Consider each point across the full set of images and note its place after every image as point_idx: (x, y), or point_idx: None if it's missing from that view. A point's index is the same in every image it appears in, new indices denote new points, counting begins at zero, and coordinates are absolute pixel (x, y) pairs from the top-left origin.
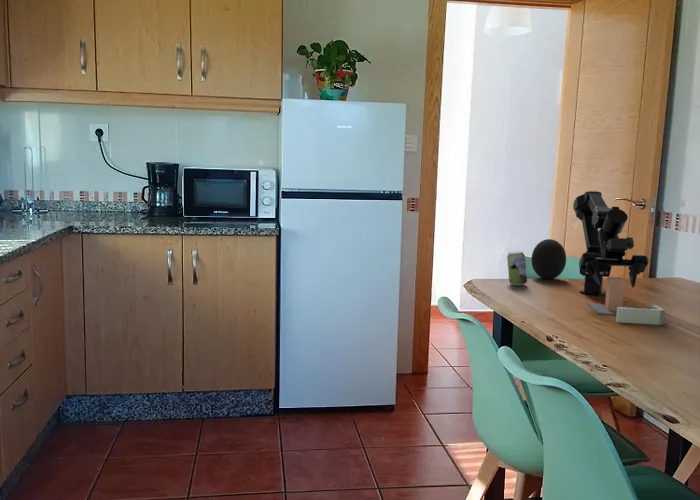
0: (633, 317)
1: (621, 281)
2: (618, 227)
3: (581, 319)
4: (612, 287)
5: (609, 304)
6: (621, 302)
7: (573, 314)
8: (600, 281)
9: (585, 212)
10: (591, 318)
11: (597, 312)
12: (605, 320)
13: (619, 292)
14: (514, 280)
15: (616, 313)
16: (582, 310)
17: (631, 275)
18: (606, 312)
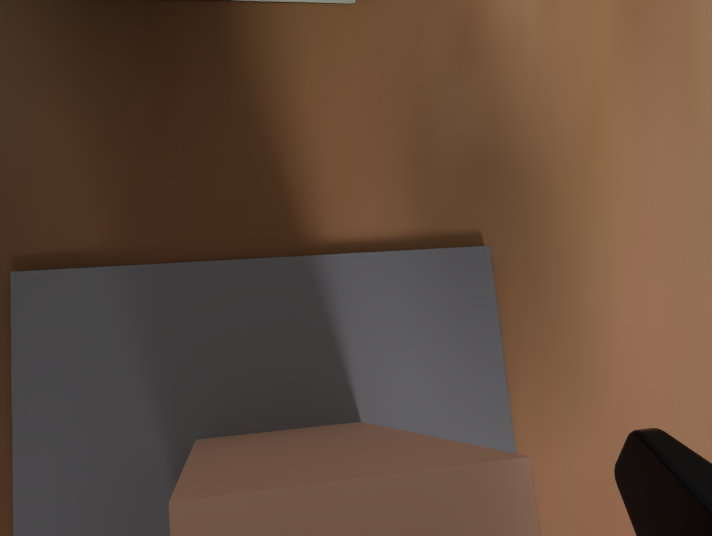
0: None
1: (261, 482)
2: None
3: (643, 5)
4: (413, 447)
5: (366, 426)
6: (213, 447)
7: (700, 172)
8: (689, 458)
9: None
10: (559, 60)
11: (489, 275)
12: (445, 15)
13: (265, 452)
14: None
15: (292, 290)
16: (616, 375)
17: None
18: (395, 306)
